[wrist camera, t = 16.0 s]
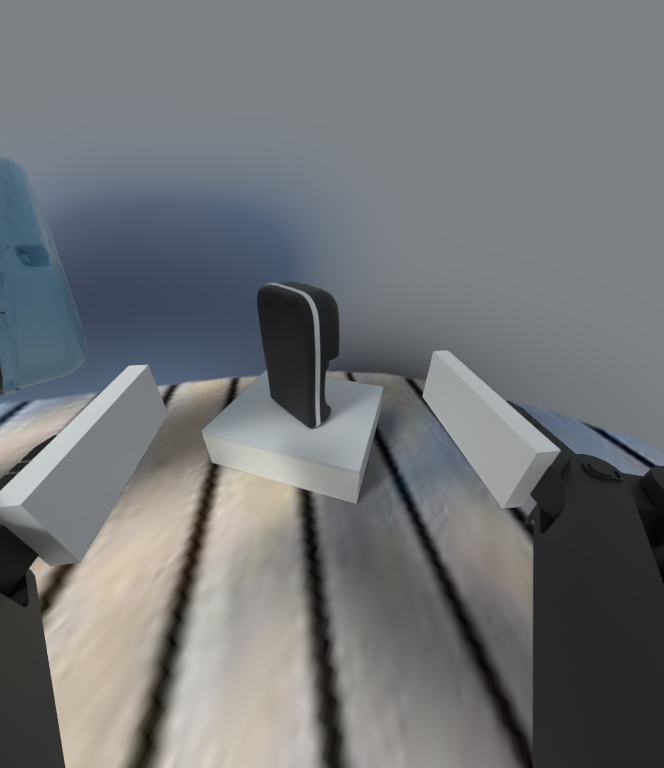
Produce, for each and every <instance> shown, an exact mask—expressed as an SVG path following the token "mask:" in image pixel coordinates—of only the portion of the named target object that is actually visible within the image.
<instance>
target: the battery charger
mask: <svg viewBox="0 0 664 768" xmlns="http://www.w3.org/2000/svg"><path fill="white" fill-rule="evenodd" d="M257 307H258V315H259V323H260V330H261V337H262V343H263V349H264V355H265V361H266V366H267V373H268V380H269V388H270V396H271V398H272V399H273V400H274V401H275V402H277V403H278V404H279V405H280V406H281V407H283V408H284V409H285V410H286V411H287V412H289V413H290V414H291V415H293V416H294V417H295V418H296V419H298V420H299V421H300V422H301V423H303V424H304V425H305V426H307V427H308V428H313V427H317V426H319V425H320V423H322V422H324V421H325V420H326V419H327V418H329V416H330V415H331V407H330V406H329V405H328V404H326V400H325V376H326V370H327V368H328V366H329V361H330V360H332V359H334V358H336V357H337V356H338V355H339V313H338V307H337V303H336V301H335V299H334V298H333V296H332V295H331V294H329V293H328V292H326V291H324V290H322V289H319V288H316V287H313V286H310V285H306V284H302V283H297V282H283V283H269V284H266V285H265V286H263V287H261V288H260V289H259V291H258V293H257Z"/></svg>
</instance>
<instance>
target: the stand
mask: <svg viewBox="0 0 664 768" xmlns="http://www.w3.org/2000/svg"><path fill="white" fill-rule="evenodd" d="M382 394H383V387H382V386H376V385H370V384H365V383H359V382H353V381H347V380H341V379H335V378H329V377H325V400H326V404H328V405H329V406H330V407H331V415H330V416H329V418H327V419H326V420H325V421H324V422H322V423H320V425H319V426H317V427H313V428H308V427H307V426H305V425H304V424H303V423H301V422H300V421H299V420H298V419H296V418H295V417H294V416H293V415H291V414H290V413H289V412H287V411H286V410H285V409H284V408H283V407H281V406H280V405H279V404H278V403H277V402H275V401H274V400H273V399H272V398H271V396H270V388H269V380H268V373H267V370H266V371H265V372H264V373H262V374H261V375H260V376H259V377H258V378H257V379H256V380H255V381H254V382H253V383H252V384H251V385H250V386H249V387H248V388H246V389H245V390H244V391H243V392H242V393H241V394H240V395H239V396H238V397H237V398H236V399H235V400H234V401H233V402H232V403H231V404H229V405H228V406H227V407H226V408H225V409H224V410H223V411H222V412H221V413H220V414H219V415H218V416H217V417H216V418H215V419H213V420H212V421H211V422H210V423H209V424H208V425H207V426H206V427H205V428H204V429H203V430H202V431H201V432H202V435H203V438H204V441H205V444H206V447H207V450H208V453H209V455H210V458H211V461H212V463H215V464H218V465H222V466H225V467H229V468H232V469H236V470H239V471H243V472H246V473H250V474H253V475H257V476H260V477H264V478H267V479H270V480H274V481H277V482H281V483H284V484H288V485H291V486H295V487H298V488H302V489H305V490H309V491H312V492H316V493H319V494H323V495H326V496H330V497H333V498H337V499H340V500H343V501H347V502H350V503H354V504H357V500H358V497H359V493H360V489H361V485H362V481H363V477H364V473H365V470H366V466H367V462H368V458H369V454H370V450H371V446H372V443H373V439H374V435H375V431H376V427H377V423H378V420H379V416H380V409H381V401H382Z"/></svg>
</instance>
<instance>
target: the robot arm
mask: <svg viewBox="0 0 664 768" xmlns="http://www.w3.org/2000/svg"><path fill="white" fill-rule="evenodd" d="M86 354H87V347H86V342H85V338H84V334H83V330H82V326H81V323H80V319H79V316H78V313H77V309H76V306H75V303H74V300H73V297H72V294H71V291H70V288H69V285H68V282H67V279H66V276H65V273H64V270H63V267H62V264H61V262H60V259H59V256H58V253H57V250H56V247H55V244H54V241H53V239H52V237H51V233H50V230H49V228H48V225H47V222H46V220H45V217H44V214H43V212H42V209H41V207H40V204H39V202H38V199H37V197H36V195H35V192H34V190H33V189H32V187H31V185H30V183H29V180H28V176H27V174H26V172H25V171H24V170H23V168H22V167H21V166H20V165H18V164H17V163H16V162H14V161H13V160H11V159H8V158H5V157H0V395H2V394H3V395H7V394H12V393H15V392H16V391H17V390H18V389H20V388H23V387H27V386H30V385H34V384H37V383H41V382H45V381H48V380H51V379H55V378H58V377H62V376H66V375H68V374H70V373H72V372H73V371H74V370H75V369H77V368H78V367H80V366H81V364H82V363H83V361H84V360H85V358H86ZM422 397H423V398H424V400H425V401H426V402H427V404H428V405H429V407H430V408H431V409H432V411H433V412H434V414H435V415H436V416H437V418H438V419H439V421H440V422H441V423H442V425H443V426H444V428H445V429H446V430H447V432H448V433H449V435H450V436H451V437H452V439H453V440H454V442H455V443H456V444H457V446H458V447H459V449H460V450H461V451H462V453H463V454H464V456H465V457H466V458H467V460H468V461H469V463H470V464H471V466H472V467H473V468H474V470H475V471H476V473H477V474H478V475H479V477H480V478H481V480H482V481H483V482H484V484H485V485H486V487H487V488H488V489H489V491H490V492H491V494H492V495H493V496H494V498H495V499H496V501H497V502H498V503H499V505H500V506H501V508H502V509H505V508H513V507H521V506H523V505H524V504H525V502H526V501H527V499H528V498H529V496H530V495H531V496H532V498H533V499H534V500H535V501H536V502H537V505H536V506H535V508H534V509H533V510H532V512H531V513H530V514H529V516H528V517H527V519H526V521H525V523H524V524H526V525H529V524H530V522H531V521H532V520H534V546H533V768H664V466H655V467H652V468H651V469H650V470H649V471H648V472H647V473H646V474H645V475H644V476H638V475H631V474H625V473H621V472H620V471H619V470H618V469H617V468H615V467H614V466H612V465H611V464H609V463H607V462H606V461H604V460H601V459H599V458H596V457H594V456H590V455H585V454H575V453H574V452H573V451H572V450H571V449H570V448H568V447H567V446H566V445H565V444H564V443H563V442H561V441H560V440H559V439H558V438H557V437H555V436H554V435H553V434H552V433H551V432H550V431H548V430H547V429H546V428H545V427H544V426H541V424H540V423H539V422H538V421H537V420H536V419H533V418H532V416H531V415H530V414H528V413H527V412H526V411H525V410H524V409H523V408H521V407H519V406H517V405H515V404H514V403H512V402H510V401H505V400H503V399H502V398H501V397H500V396H499V395H498V394H497V393H495V392H494V391H493V390H492V389H491V388H490V387H489V386H487V385H486V384H485V383H484V382H483V381H482V380H481V379H480V378H479V377H477V376H476V375H475V374H474V373H473V372H472V371H471V370H470V369H468V368H467V367H466V366H465V365H464V364H463V363H462V362H460V361H459V360H458V359H457V358H456V357H455V356H454V355H453V354H452V353H450V352H449V351H448V350H447V351H434V352H433V355H432V360H431V364H430V368H429V372H428V376H427V380H426V384H425V388H424V392H423V396H422ZM167 416H168V412H167V410H166V407H165V405H164V402H163V400H162V398H161V395H160V393H159V390H158V388H157V386H156V383H155V381H154V378H153V376H152V373H151V371H150V368H149V366H148V365H137V366H128V367H127V368H126V369H125V370H124V371H123V372H122V373H121V374H120V375H119V376H118V377H117V378H116V379H115V380H114V381H113V382H112V383H111V384H110V385H109V386H108V387H107V388H106V389H105V390H104V391H103V392H102V393H101V394H100V395H99V396H97V397H96V398H95V399H94V400H93V401H92V402H91V403H90V404H89V405H88V406H87V407H86V408H85V409H84V410H83V411H82V412H81V413H80V414H79V415H78V416H77V417H76V418H75V419H74V420H73V421H72V422H71V423H70V424H69V425H68V426H67V427H66V428H65V429H64V430H62V431H61V432H60V433H59V434H58V435H54V436H52V437H51V438H49V439H47V440H46V441H44V442H43V443H41V444H39V445H38V446H36V447H35V448H34V449H33V450H32V451H30V452H29V453H28V454H27V455H26V456H25V457H24V458H23V459H22V460H21V463H18V464H17V465H15V466H14V467H13V468H12V469H11V470H10V471H9V474H8V475H5V476H4V477H3V478H2V479H0V768H65V763H64V757H63V750H62V744H61V737H60V731H59V725H58V718H57V712H56V706H55V699H54V693H53V687H52V680H51V674H50V668H49V661H48V655H47V649H46V642H45V636H44V630H43V623H42V617H41V611H40V604H39V598H38V592H37V585H36V579H35V575H34V574H33V572H32V571H31V570H30V569H29V568H30V566H31V565H32V563H33V562H34V561H35V559H36V558H37V557H38V556H39V557H40V558H41V559H43V560H44V561H45V562H46V563H47V564H49V565H50V566H55V565H63V564H71V563H79V562H81V561H82V559H83V557H84V556H85V554H86V552H87V550H88V549H89V547H90V545H91V544H92V542H93V540H94V539H95V537H96V535H97V534H98V532H99V530H100V529H101V527H102V525H103V523H104V522H105V520H106V518H107V517H108V515H109V513H110V512H111V510H112V508H113V507H114V505H115V503H116V502H117V500H118V498H119V497H120V495H121V493H122V491H123V490H124V488H125V486H126V485H127V483H128V481H129V480H130V478H131V476H132V475H133V473H134V471H135V470H136V468H137V466H138V464H139V463H140V461H141V459H142V458H143V456H144V454H145V453H146V451H147V449H148V448H149V446H150V444H151V443H152V441H153V439H154V438H155V436H156V434H157V432H158V431H159V429H160V427H161V426H162V424H163V422H164V421H165V419H166V417H167Z"/></svg>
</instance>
